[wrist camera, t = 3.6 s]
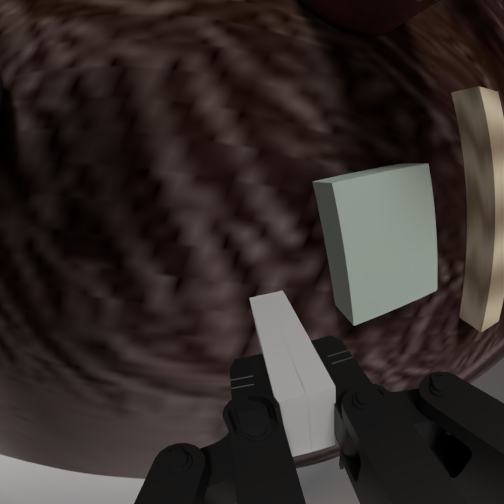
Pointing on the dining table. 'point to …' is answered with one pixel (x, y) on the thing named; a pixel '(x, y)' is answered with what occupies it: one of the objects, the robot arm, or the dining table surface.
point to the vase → (366, 14)
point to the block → (379, 238)
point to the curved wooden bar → (482, 204)
